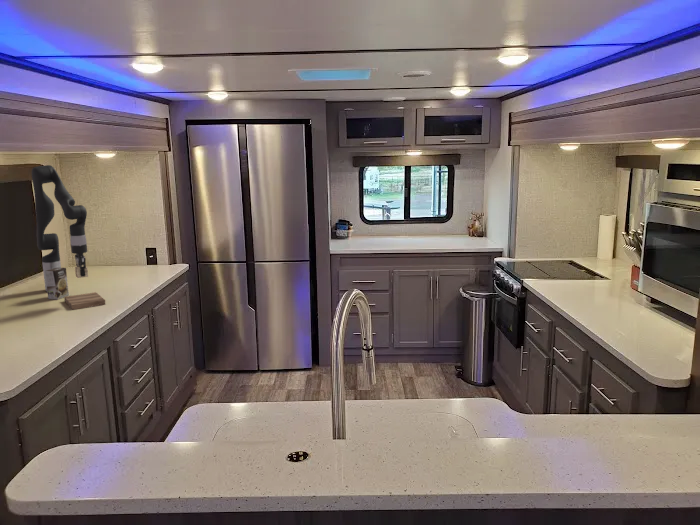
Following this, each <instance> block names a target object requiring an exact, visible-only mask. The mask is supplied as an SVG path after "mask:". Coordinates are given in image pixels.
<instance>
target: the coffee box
mask: <svg viewBox="0 0 700 525" xmlns="http://www.w3.org/2000/svg"><path fill="white" fill-rule="evenodd" d="M45 273H46V283H47V291H46V293H47V299H49V300H60V299H64V297H66V296H70V295H69V294H70V293H69V286H68V285H69V283H68V276H67V268H66V267H61V268H53V269H50V270H46V271H45Z"/></svg>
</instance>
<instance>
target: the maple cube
mask: <svg viewBox="0 0 700 525" xmlns="http://www.w3.org/2000/svg"><path fill="white" fill-rule="evenodd" d="M82 267H83V266H82ZM74 271H75V278H77V279H81V278H88V277H89V272H88V266H86V269H85V276H82V277H81V275H80V267H77V266H74Z"/></svg>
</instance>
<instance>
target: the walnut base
mask: <svg viewBox="0 0 700 525" xmlns="http://www.w3.org/2000/svg"><path fill="white" fill-rule="evenodd" d="M63 299H64V303H66V305H67V306H68V307H69V308H70V309H71V310H73V311H74V310H78V309H79V310H80V309H85V307H86V308H92V307H98V306H103V305H104V306H105V305H106V299H105V298H104V297H102V296H101V295H100V294H99V293H98V292H96V291H95V292H89V293H87V292H86V293H80V294H74V295H69V296H66V297H63ZM91 306H92V307H91Z"/></svg>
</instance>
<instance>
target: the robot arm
mask: <svg viewBox="0 0 700 525" xmlns="http://www.w3.org/2000/svg"><path fill="white" fill-rule="evenodd" d="M31 180H32V185H33V192H34V193H33V194H34V208H35V211H34V212H35V221H36V246H37V249H38V250H39V251H50V250H51V252H50V253H48V254H46V255H44V256H42V257H41V262H42V271H43V280H44V281H43V282H44V289H45V292H47V283H46V273H45V271H46V270H50V269H53V268H62V267H61V266H62V264H61V263H62V262H61V256H60V242H59V237H58V234H57V233H53V232H52V233H45V230H46V229H47V227H48V226H49V224H50V223H51V222H52V220H53V218H54V216H55V204H54V201H53V200H52V199H51V198H50V196H48V195H47V194H46V193H45V191H44V188H43V185H44V184H49V183H53V184H54V192H53V195H54V198H55V200H56V202H58V204H59V205H60V207H61V209H62V212H63V215H64V217H65V218H66V219H67V220H70V221H72V220H74V221H75V220H76V221H75V223H72V224H70V225H69V234H70V240H69V241H70V242H69V243H70V250H71V254H74V258H75V259H74V260H75V267H80V275H81V277H82V276H85V269H86V267H87V265H86V264H87V262H86V256H85V255H84V254H85V253H88V245H87V244H88V243H87V237H86V229H85V227H86V226H85V225H86V221H87V215H88V214H87V209H86V207H85V206H84V205H82V204H81V205H78V204H77V205H75V203H76V201H75V199H74V198H73V196H72V195H71V194H70V193H69V191H68V190H67V189H66V186H65V185H64V183H63V181H62V179H61V178H60V175H59V174H58V172H57V170H56V169H55V167H54V166H53V165H50V164H46V165H39V166H35V167H32V169H31ZM82 266H83V267H82ZM82 278H83V277H82Z"/></svg>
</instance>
